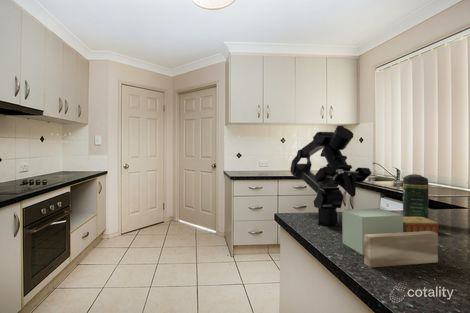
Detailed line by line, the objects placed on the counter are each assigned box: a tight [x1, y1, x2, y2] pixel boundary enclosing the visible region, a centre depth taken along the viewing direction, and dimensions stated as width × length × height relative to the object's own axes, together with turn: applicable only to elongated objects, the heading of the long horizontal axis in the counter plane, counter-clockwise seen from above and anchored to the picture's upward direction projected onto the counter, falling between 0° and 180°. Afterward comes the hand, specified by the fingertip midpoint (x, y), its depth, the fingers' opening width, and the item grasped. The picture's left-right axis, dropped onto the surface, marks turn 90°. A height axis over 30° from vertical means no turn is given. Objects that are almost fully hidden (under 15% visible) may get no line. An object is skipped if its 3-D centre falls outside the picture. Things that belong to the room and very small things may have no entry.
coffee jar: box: [402, 173, 430, 219], centre depth 95 cm, size 10×8×19 cm
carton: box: [403, 217, 439, 234], centre depth 86 cm, size 8×16×4 cm, turn 85°
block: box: [341, 207, 403, 256], centre depth 70 cm, size 9×12×10 cm
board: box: [363, 231, 439, 268], centre depth 59 cm, size 2×18×7 cm, turn 98°
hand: (353, 196), depth 79 cm, fingers closed
